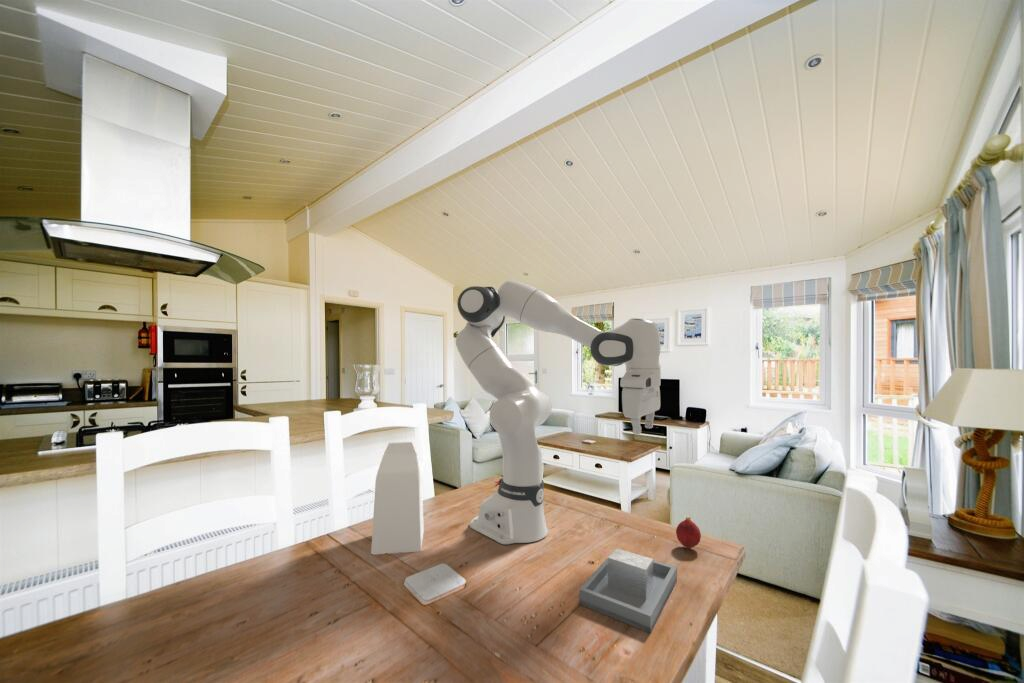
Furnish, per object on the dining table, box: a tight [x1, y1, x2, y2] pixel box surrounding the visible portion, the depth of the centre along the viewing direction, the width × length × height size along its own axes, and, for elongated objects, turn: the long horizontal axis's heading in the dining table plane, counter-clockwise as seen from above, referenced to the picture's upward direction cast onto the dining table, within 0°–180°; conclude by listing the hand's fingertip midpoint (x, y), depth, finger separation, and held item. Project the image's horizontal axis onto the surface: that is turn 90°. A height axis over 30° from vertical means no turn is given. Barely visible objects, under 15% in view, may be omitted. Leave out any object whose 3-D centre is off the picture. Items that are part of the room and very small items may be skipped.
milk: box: [370, 441, 425, 555], centre depth 105 cm, size 12×12×26 cm
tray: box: [578, 552, 678, 634], centre depth 84 cm, size 14×20×3 cm
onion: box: [675, 516, 702, 550], centre depth 102 cm, size 6×6×8 cm
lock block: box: [607, 548, 654, 600], centre depth 84 cm, size 8×5×6 cm, turn 55°
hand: (643, 430), depth 107 cm, fingers open, 8 cm apart
